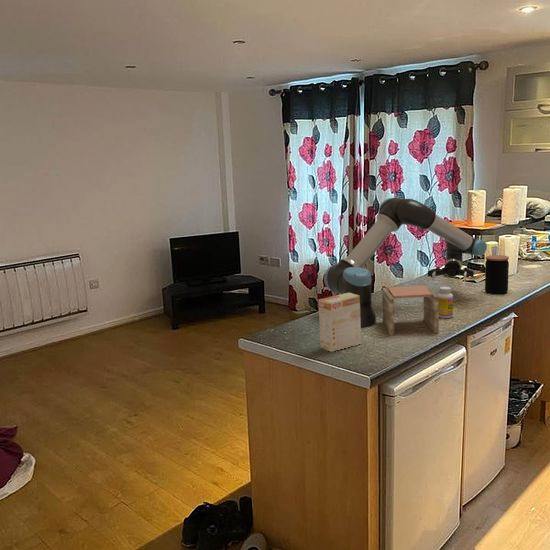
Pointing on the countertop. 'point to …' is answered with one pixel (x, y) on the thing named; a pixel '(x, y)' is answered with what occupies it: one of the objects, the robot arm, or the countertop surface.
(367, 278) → the robot arm
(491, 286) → the coffee jar
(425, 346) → the countertop surface
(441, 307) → the supplement bottle
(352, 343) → the coffeecake box
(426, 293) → the trapdoor
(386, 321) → the stand
